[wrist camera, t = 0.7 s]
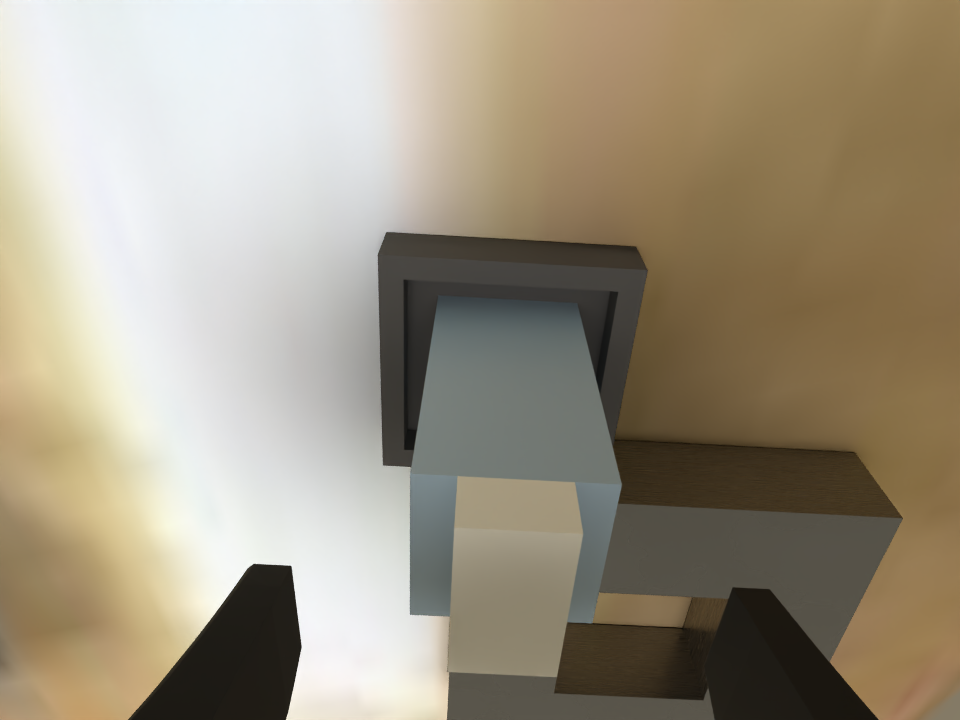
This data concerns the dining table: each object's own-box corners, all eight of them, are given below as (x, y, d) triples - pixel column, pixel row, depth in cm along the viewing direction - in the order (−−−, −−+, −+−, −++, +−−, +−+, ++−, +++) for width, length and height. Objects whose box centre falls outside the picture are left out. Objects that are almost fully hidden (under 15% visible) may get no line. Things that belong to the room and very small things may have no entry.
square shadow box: (635, 246, 17) (647, 270, 16) (599, 444, 21) (606, 477, 19) (386, 232, 17) (377, 254, 16) (389, 433, 20) (382, 465, 19)
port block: (854, 452, 21) (902, 518, 18) (751, 690, 27) (777, 763, 24) (462, 431, 20) (458, 495, 18) (449, 676, 27) (445, 747, 24)
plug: (576, 303, 18) (634, 536, 10) (561, 416, 19) (600, 679, 12) (438, 295, 17) (402, 524, 10) (435, 409, 19) (403, 670, 12)
